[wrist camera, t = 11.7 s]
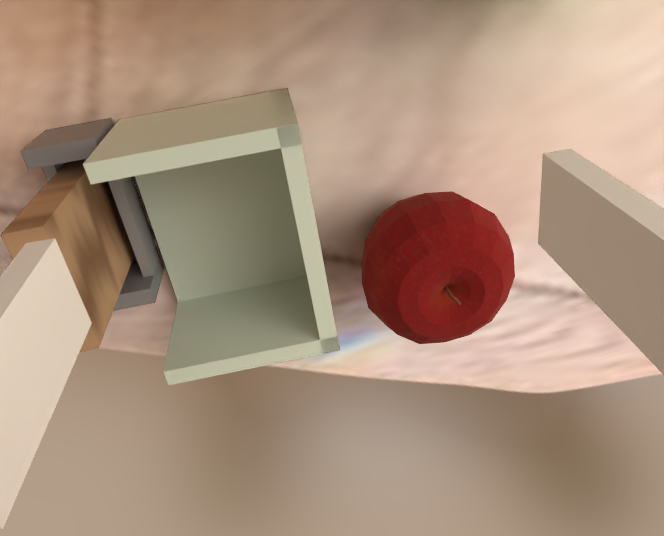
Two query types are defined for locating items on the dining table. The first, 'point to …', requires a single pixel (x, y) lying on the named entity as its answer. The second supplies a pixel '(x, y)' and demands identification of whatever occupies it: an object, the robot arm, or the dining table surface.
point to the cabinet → (213, 227)
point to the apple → (437, 267)
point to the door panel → (80, 239)
